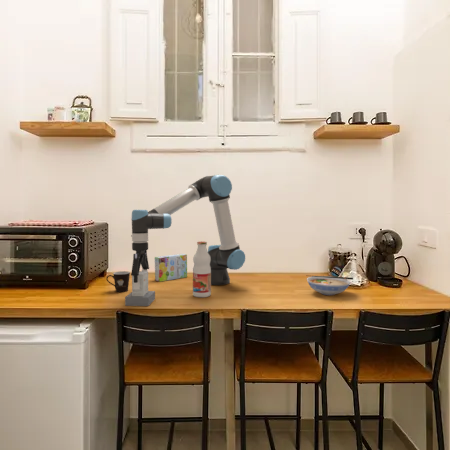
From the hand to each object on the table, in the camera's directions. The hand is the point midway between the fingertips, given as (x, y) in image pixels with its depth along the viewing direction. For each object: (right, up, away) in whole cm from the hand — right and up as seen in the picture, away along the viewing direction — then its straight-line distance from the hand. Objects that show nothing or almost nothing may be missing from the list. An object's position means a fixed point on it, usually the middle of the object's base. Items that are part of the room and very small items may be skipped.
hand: (140, 285), depth 165 cm
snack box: (+7, -5, +53) cm, 54 cm away
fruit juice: (+29, -8, +14) cm, 33 cm away
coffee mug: (-17, -7, +22) cm, 29 cm away
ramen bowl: (+96, -8, +19) cm, 98 cm away
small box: (0, -4, 0) cm, 4 cm away
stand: (0, -8, 0) cm, 8 cm away
